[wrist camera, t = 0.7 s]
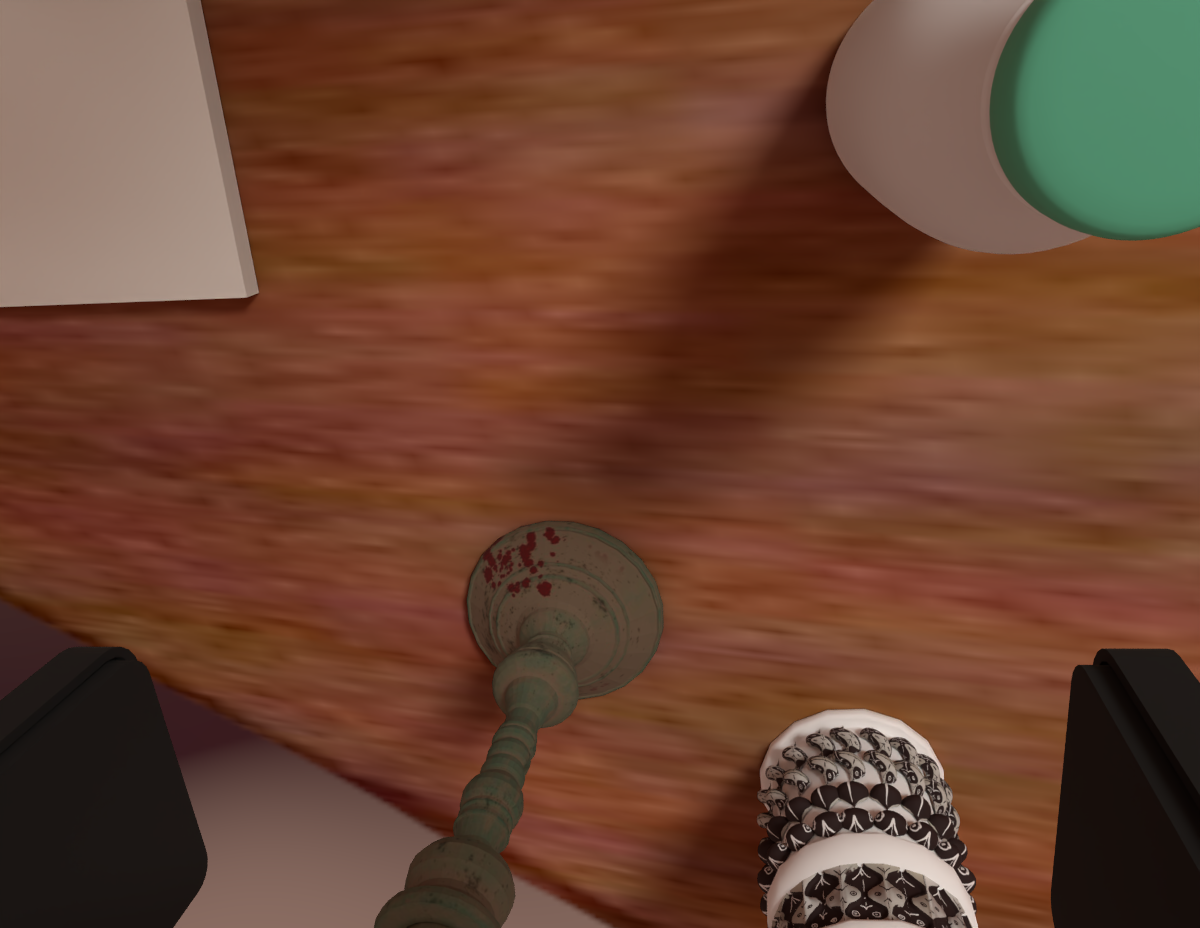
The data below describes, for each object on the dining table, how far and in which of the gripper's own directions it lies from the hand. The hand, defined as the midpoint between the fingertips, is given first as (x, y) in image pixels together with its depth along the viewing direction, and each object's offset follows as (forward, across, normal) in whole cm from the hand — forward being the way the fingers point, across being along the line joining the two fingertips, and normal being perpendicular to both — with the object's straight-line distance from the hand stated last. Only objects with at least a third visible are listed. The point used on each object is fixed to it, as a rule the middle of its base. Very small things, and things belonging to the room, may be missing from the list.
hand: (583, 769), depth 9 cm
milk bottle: (+29, -8, -6) cm, 31 cm away
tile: (+29, +26, -8) cm, 40 cm away
